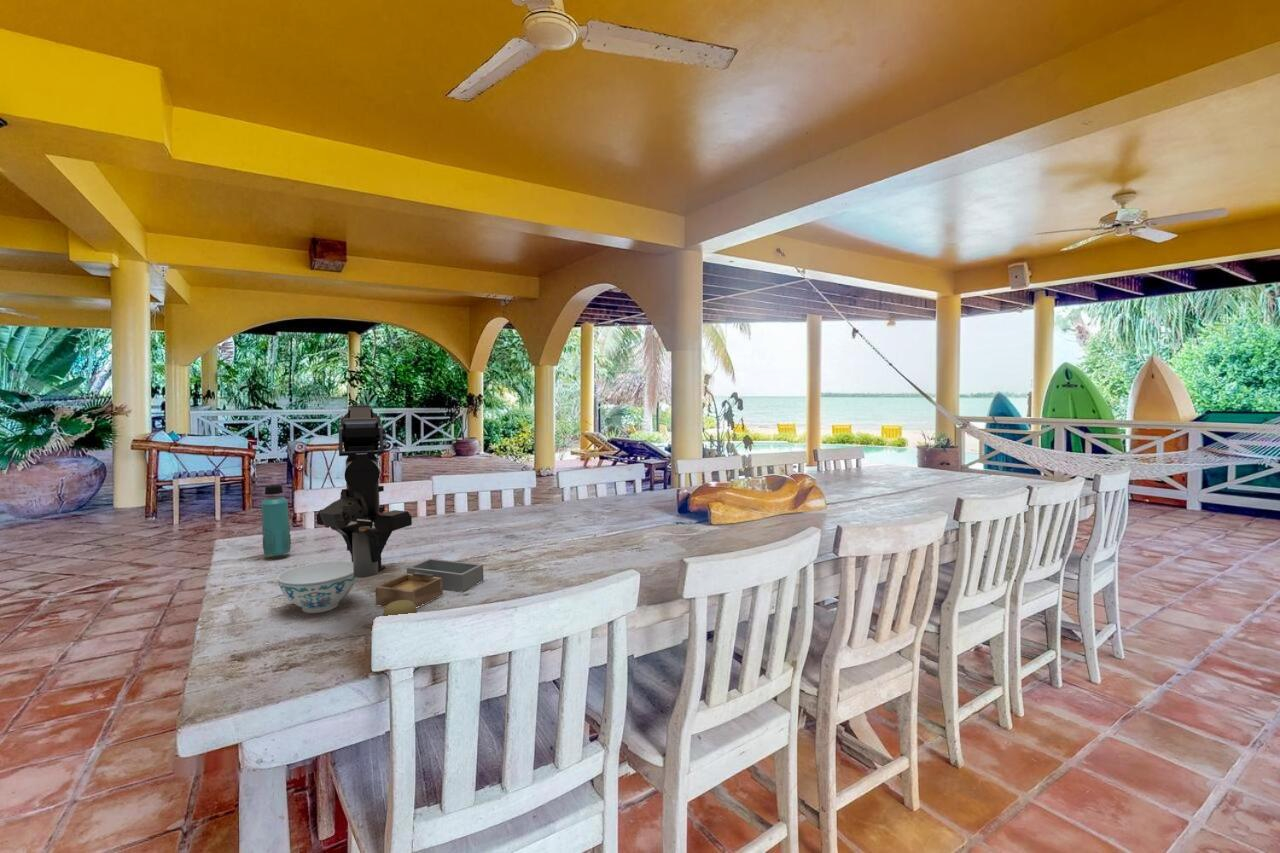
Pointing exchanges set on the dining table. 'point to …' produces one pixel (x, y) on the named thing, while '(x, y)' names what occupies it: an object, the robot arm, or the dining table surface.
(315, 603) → the chinaware
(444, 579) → the trough
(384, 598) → the frame
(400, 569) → the dining table surface
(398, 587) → the plate
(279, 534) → the beverage bottle
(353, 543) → the battery cell
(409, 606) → the cork
